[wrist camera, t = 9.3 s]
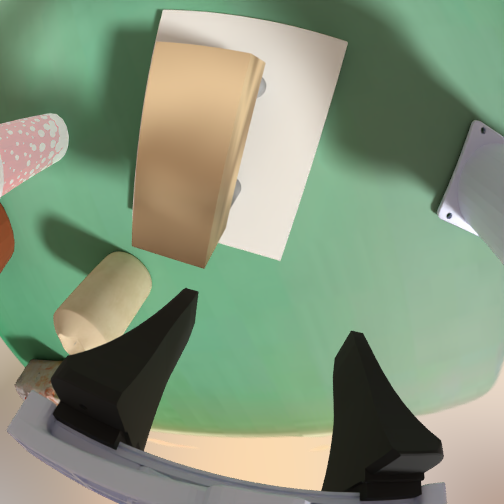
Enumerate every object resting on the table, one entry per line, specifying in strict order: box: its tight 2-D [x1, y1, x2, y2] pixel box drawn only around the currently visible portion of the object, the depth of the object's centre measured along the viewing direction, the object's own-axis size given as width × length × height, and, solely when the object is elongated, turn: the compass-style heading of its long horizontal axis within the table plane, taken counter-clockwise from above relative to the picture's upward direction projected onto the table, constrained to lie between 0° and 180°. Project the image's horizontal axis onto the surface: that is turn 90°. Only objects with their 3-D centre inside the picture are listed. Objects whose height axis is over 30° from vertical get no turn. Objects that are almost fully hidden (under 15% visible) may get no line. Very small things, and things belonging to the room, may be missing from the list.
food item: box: [15, 359, 62, 406], centre depth 38 cm, size 14×8×10 cm, turn 110°
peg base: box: [132, 10, 348, 261], centre depth 18 cm, size 12×16×4 cm
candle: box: [53, 251, 152, 355], centre depth 23 cm, size 6×6×10 cm
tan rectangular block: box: [132, 41, 266, 268], centre depth 14 cm, size 10×4×4 cm, turn 167°
